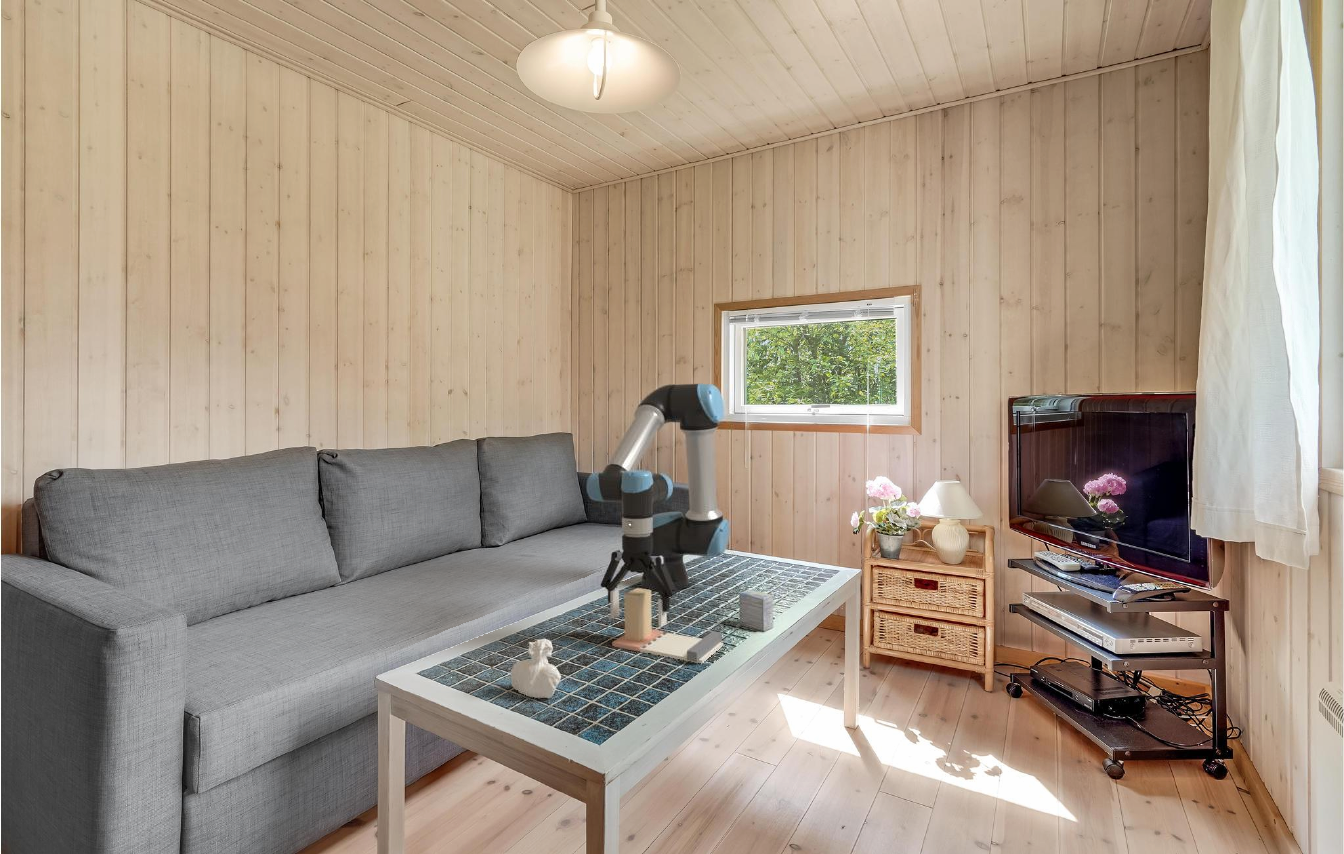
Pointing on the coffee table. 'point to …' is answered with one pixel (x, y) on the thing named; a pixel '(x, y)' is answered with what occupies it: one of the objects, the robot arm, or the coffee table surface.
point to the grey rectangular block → (756, 610)
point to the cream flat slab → (684, 646)
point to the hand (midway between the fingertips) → (638, 620)
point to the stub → (637, 621)
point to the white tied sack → (536, 672)
